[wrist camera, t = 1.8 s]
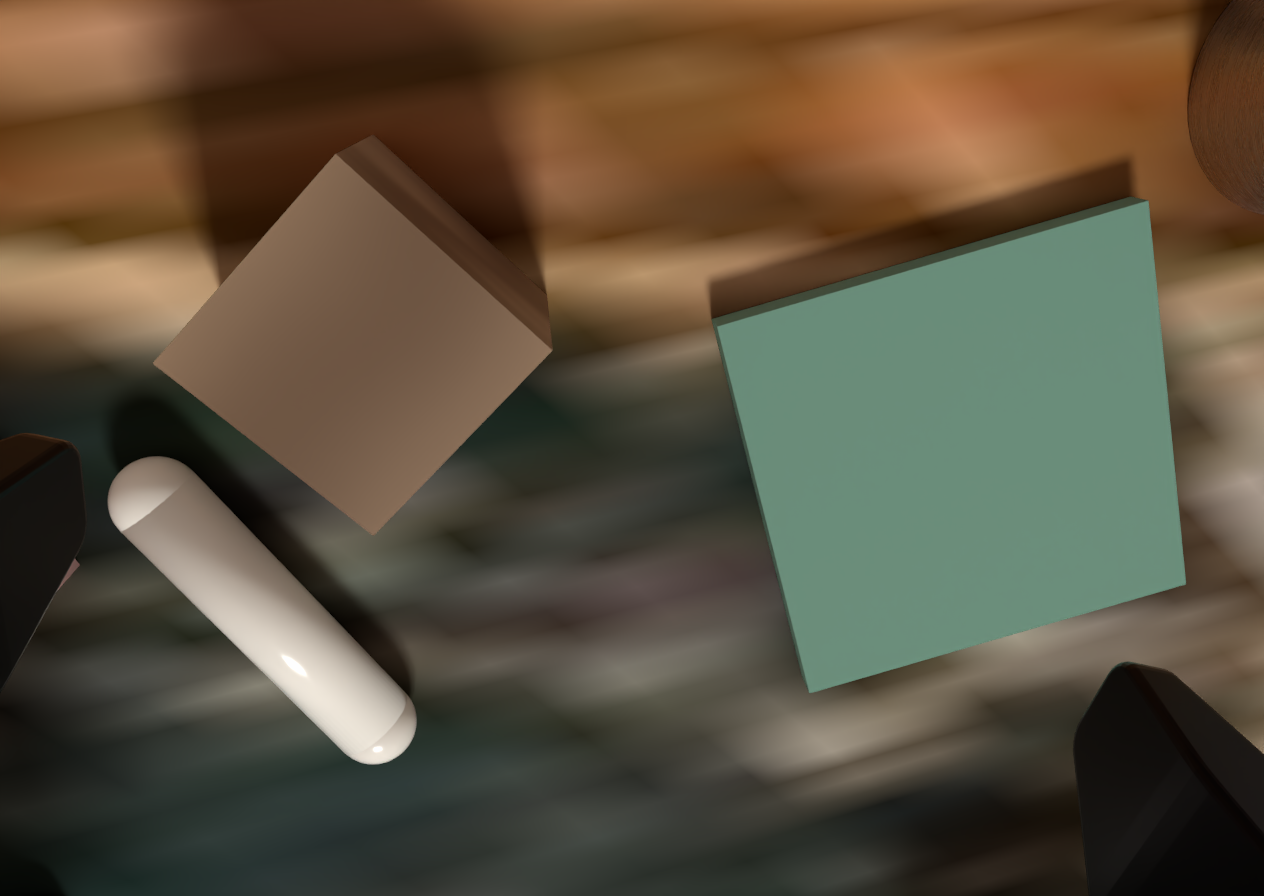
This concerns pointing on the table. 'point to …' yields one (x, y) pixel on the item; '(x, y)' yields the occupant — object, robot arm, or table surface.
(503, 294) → the walnut block
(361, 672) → the chalk
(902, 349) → the mat
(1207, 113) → the bottle
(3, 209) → the table surface
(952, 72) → the table surface
